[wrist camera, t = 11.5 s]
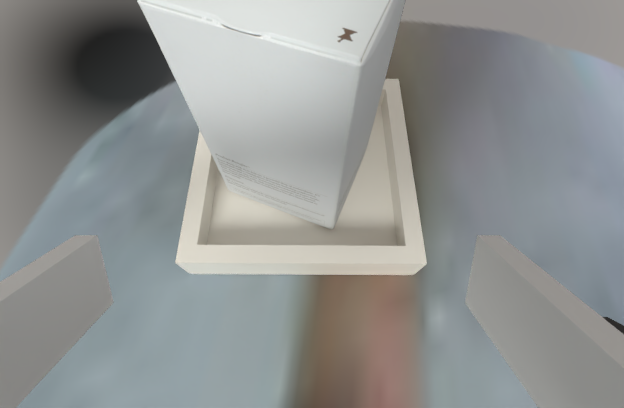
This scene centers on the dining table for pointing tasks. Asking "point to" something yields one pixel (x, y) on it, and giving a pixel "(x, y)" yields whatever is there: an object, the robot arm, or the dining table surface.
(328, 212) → the supplement box
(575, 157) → the dining table surface
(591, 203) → the dining table surface
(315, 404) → the dining table surface
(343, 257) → the stoneware dish
